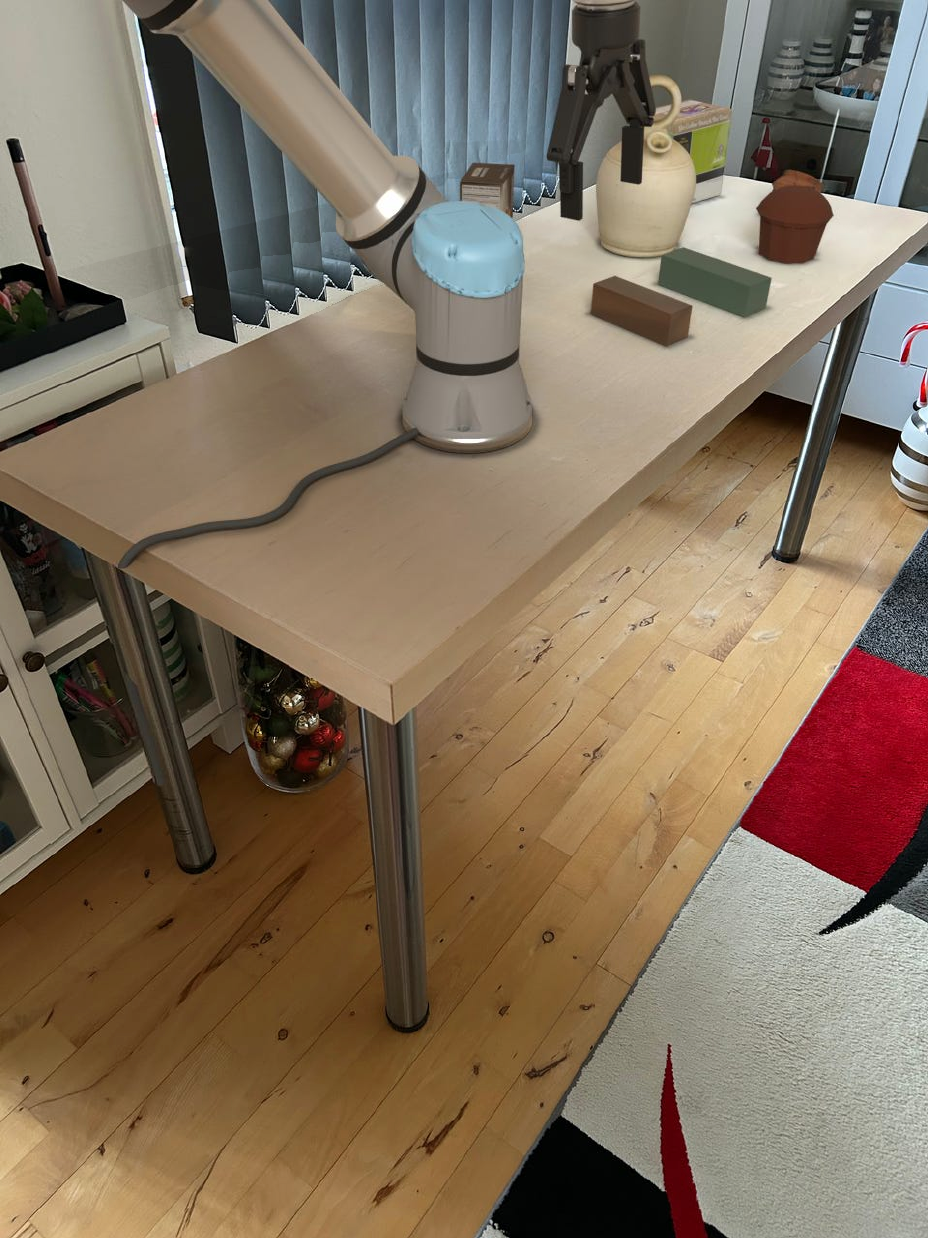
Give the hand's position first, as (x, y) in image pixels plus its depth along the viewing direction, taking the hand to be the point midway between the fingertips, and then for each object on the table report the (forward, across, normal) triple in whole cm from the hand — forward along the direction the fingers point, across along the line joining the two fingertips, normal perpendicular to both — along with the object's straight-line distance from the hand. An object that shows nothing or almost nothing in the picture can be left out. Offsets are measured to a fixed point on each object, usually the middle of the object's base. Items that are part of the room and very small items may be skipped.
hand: (602, 199), depth 125 cm
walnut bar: (+19, +6, -2) cm, 20 cm away
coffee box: (+18, +5, +23) cm, 30 cm away
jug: (+20, +34, +14) cm, 42 cm away
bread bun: (+23, +63, +1) cm, 67 cm away
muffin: (+22, +45, -6) cm, 51 cm away
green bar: (+20, +22, -5) cm, 30 cm away
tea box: (+22, +58, +22) cm, 66 cm away
